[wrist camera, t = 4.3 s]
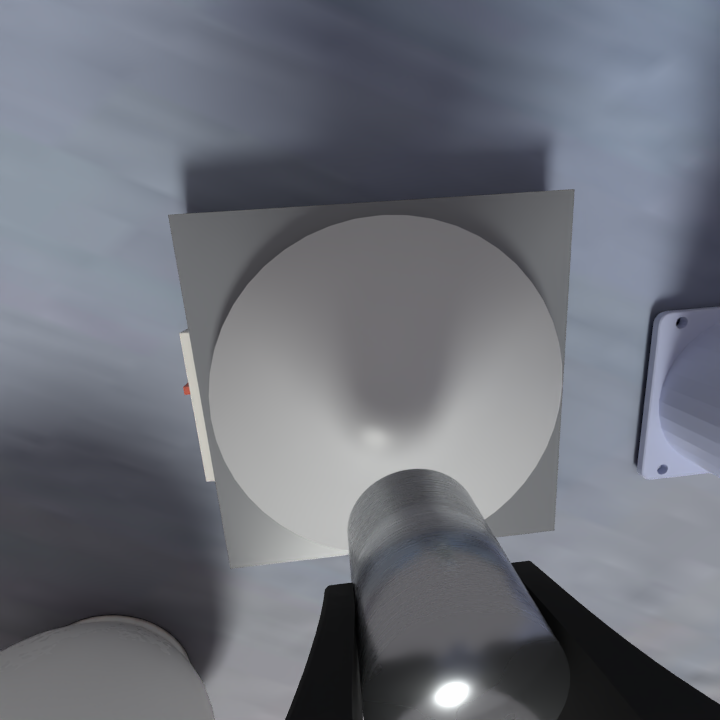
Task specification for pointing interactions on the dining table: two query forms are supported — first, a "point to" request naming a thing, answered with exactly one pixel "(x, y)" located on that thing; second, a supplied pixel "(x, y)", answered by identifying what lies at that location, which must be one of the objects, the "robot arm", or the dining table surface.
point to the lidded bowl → (101, 674)
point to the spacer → (444, 611)
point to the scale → (374, 359)
